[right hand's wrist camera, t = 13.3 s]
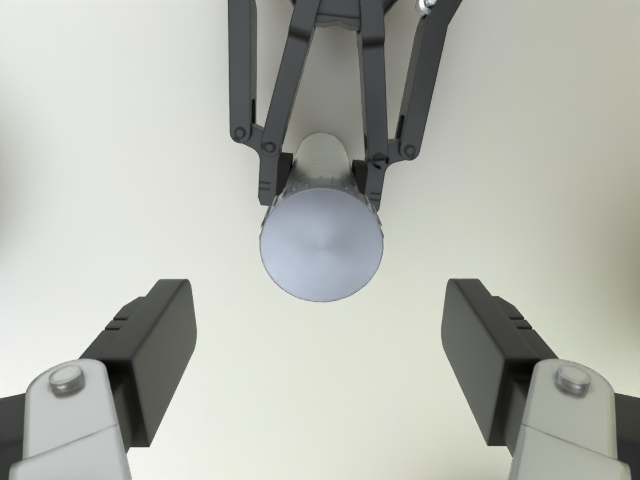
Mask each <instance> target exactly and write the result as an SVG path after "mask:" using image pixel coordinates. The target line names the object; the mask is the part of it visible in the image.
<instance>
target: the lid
mask: <svg viewBox="0 0 640 480" xmlns="http://www.w3.org/2000/svg"><path fill="white" fill-rule="evenodd" d="M380 226H382V224H381V222H380V219H379V217H378V215H377V213H376V210H375V208H374V205H373V204H370V203H369V200H368V198H367V196H366V194H365V195H363V194H362V193H360V192H359V190H358V187H356V186H355V188H354V187H352V186H351V185H349V184H347V181H345V180H344V182H342V181H339V180H335V177H332V179H330V178H322V176H319V178H313V179H309V177H307V178H306V180H304V181H301V182H297V181H296V182H294V185H292V186H291V187H289V188H288V189H287V188H286V187H285V188H284V190H283V193H281V194H280V195H279V196H276V197H275V199H274V201H273V204H272V206H270V205H269V207H268V210H267V212H266V215H265V217H264V220H263V222H262V225H261V228H262V231H261V234H260V236H259V240H260V254H261V258H262V262H263V265H264V267H265V269H266V271H267V273H268V274H269V276H270V277H271V278H272V280H273V281H274V282H275V283H276V284H277V285H278V286H279V287H280V288H282V289H283V290H284V291H286V292H287V293H289V294H291V295H293V296H295V297H297V298H300V299H303V300H307V301H313V302H330V301H336V300H340V299H343V298H346V297H348V296H350V295H352V294H354V293H356V292H357V291H359V290H360V289H361V288H363V287H364V286H365V285H366V284H367V283H368V282H369V281H370V280H371V278H372V277H373V276H374V274H375V272H376V271H377V269H378V267H379V264H380V262H381V258H382V254H383V238H384V235H383V233H382V230H381V228H380Z"/></svg>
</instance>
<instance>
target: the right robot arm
mask: <svg viewBox="0 0 640 480" xmlns="http://www.w3.org/2000/svg"><path fill="white" fill-rule="evenodd" d="M196 338H197V328H196V319H195V312H194V304H193V296H192V289H191V284H190V282H189V280H188V279H160V280H158V281H157V283H156V284H155V285H154V287H153V288H152V289H151V290H150V292H149V293H148V294H147V295H146V297H138V298H136V299H135V300H133V301H132V302H130V303H128V304H127V305H125V306H123V307H122V309H121V310H120V311H119V312H118V313H117V314H116V316H115V317H114V318H113V321H110V323H109V324H108V325H107V326H106V327H105V330H103V331H102V332H101V333H100V334H99V335H98V337H97V338H96V339H95V340H94V341H93V342H92V344H91V345H90V346H89V347H88V348H87V349H86V351H85V352H84V353H83V354H82V355H81V356H80V358H79V359H77V360H72V361H68V362H64V363H61V364H59V365H56V366H54V367H52V368H50V369H48V370H46V371H45V372H43V373H42V374H40V375H39V376H38V377H36V378H35V379H34V380H33V381H32V382H31V384H30V385H29V386H28V388H27V390H26V393H23V394H19V395H15V396H10V397H5V398H0V480H132V477H131V473H130V468H129V464H128V460H127V455H126V454H127V452H128V450H129V448H130V447H150V445H151V443H152V440H153V438H154V436H155V434H156V432H157V430H158V427H159V425H160V423H161V421H162V419H163V416H164V414H165V412H166V410H167V408H168V406H169V403H170V401H171V399H172V397H173V395H174V393H175V390H176V388H177V386H178V384H179V382H180V380H181V377H182V375H183V373H184V371H185V369H186V367H187V364H188V362H189V360H190V358H191V356H192V354H193V351H194V349H195V345H196ZM441 338H442V345H443V348H444V351H445V353H446V355H447V358H448V360H449V362H450V364H451V366H452V369H453V371H454V373H455V375H456V377H457V380H458V382H459V384H460V386H461V388H462V391H463V393H464V395H465V397H466V399H467V402H468V404H469V406H470V408H471V410H472V413H473V415H474V417H475V419H476V421H477V424H478V426H479V428H480V430H481V432H482V435H483V437H484V439H485V441H486V443H487V446H507V447H508V449H509V451H510V453H511V455H512V457H513V460H512V464H511V468H510V473H509V477H508V480H640V398H637V397H632V396H627V395H623V394H618V393H614V390H613V388H612V386H611V385H610V384H609V382H608V381H607V380H606V379H605V378H604V377H602V376H601V375H600V374H598V373H597V372H595V371H594V370H592V369H590V368H588V367H586V366H584V365H581V364H579V363H576V362H572V361H568V360H563V359H559V358H558V357H557V356H556V355H555V354H554V352H553V351H552V350H551V349H550V348H549V346H548V345H547V344H546V343H545V342H544V341H543V339H542V338H541V337H540V336H539V335H538V333H537V332H536V331H535V330H532V326H531V325H530V324H529V323H528V322H527V320H524V317H523V316H522V315H521V313H520V312H519V311H518V310H517V309H516V307H515V306H513V305H512V304H510V303H509V302H507V301H505V300H504V299H502V298H500V297H499V296H492V295H491V294H490V293H489V292H488V290H487V289H486V288H485V287H484V285H483V284H482V283H481V281H480V280H479V279H449V281H448V283H447V287H446V294H445V302H444V310H443V318H442V326H441Z"/></svg>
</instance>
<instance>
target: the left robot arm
mask: <svg viewBox="0 0 640 480" xmlns="http://www.w3.org/2000/svg"><path fill="white" fill-rule="evenodd" d="M397 1H398V0H290V2H291V3H292V5H293V7H294V11H293V14H292V18H291V22H290V26H289V32H288V38H287V41H286V45H285V49H284V53H283V57H282V61H281V65H280V69H279V73H278V76H277V80H276V84H275V88H274V92H273V96H272V100H271V104H270V107H269V111H268V115H267V119H266V123H265V127H264V128H263V127H261V126H259V125H257V124H256V88H257V8H256V1H255V0H228V36H229V108H230V136H231V138H232V139H233V140H234V141H235V142H237V143H243V144H245V145H247V146H249V147H251V148H253V149H254V150H256V151H257V153H258V154H259V157H260V171H259V191H258V198H259V201H260V204H261V205H266V206H269V205H270V206H272V204H273V201H274V199H275V197H276V196H279V195H280V194H281V193H283V190H284V188H285V186H286V183H287V180H288V177H289V174H290V171H291V168H292V163H293V153H283V152H282V145H283V142H284V138H285V135H286V131H287V128H288V124H289V120H290V117H291V113H292V110H293V106H294V102H295V99H296V95H297V92H298V88H299V84H300V81H301V77H302V74H303V70H304V66H305V63H306V59H307V56H308V52H309V48H310V45H311V42H312V39H313V35H314V32H315V28H316V27H327V26H333V25H339V26H341V27H343V28H346V29H348V30H352V31H356V32H357V45H358V52H359V68H360V83H361V99H362V115H363V130H364V146H365V161H362V160H353V162H352V172H353V175H354V178H355V181H356V184H357V187H358V190H359V192H360V193H362V194H363V195H365V194H366V196H367V198H368V200H369V203H370V204H373V205H374V208H375V210H376V213H377V212H378V210H379V207H380V200H381V193H382V188H383V181H384V175H385V171H386V169H387V167H388V166H389V165H391V164H392V163H395V162H399V161H403V160H413V159H415V158H416V157H417V156H418V155H419V152H420V148H421V144H422V139H423V135H424V130H425V126H426V121H427V117H428V112H429V108H430V103H431V99H432V94H433V90H434V85H435V81H436V77H437V72H438V68H439V63H440V59H441V54H442V50H443V45H444V41H445V36H446V32H447V27H448V24H449V23H450V21H451V19H452V17H453V16H454V14H455V12H456V10H457V9H458V7H459V5H460V3H461V2H462V0H416V3H415V8H416V11H417V12H418V13H419V14H420V15H421V18H420V21H419V24H418V26H417V30H416V34H415V38H414V43H413V48H412V53H411V58H410V63H409V68H408V73H407V78H406V83H405V88H404V93H403V98H402V103H401V108H400V113H399V118H398V123H397V128H396V133H395V138H394V139H390V140H388V130H387V107H386V84H385V61H384V41H385V29H384V16H385V15H386V14H387V13H388V11H389V10H390V9H391V8H392V7H393V5H394V4H395V3H396V2H397Z"/></svg>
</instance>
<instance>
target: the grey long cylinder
mask: <svg viewBox="0 0 640 480" xmlns="http://www.w3.org/2000/svg"><path fill="white" fill-rule="evenodd" d="M319 176H322V178H330V179H332V177H335V180H339V181H342V182H344V180H345V181H347V184H349V185H351V186H352V187H354V188H355V186H356V187H357V184H356V181H355V178H354V175H353V172H352V168H351V165H350V162H349V159H348V156H347V153H346V150H345V148H344V146H343V144H342V142H341V141H340V140H339V139H338V138H337V137H335V136H333V135H331V134H329V133H323V132H320V133H314V134H311V135H310V136H308V137H306V138H305V139H304V140H303V141H302V142H301V144H300V145H299V147H298V150H297V153H296V156H295V159H294V162H293V165H292V168H291V171H290V174H289V177H288V180H287V183H286V186H285V187H286V188H287V189H288V188H289V187H291V186H292V185H294V182H296V181H297V182H301V181H304V180H306V178H307V177H309V179H313V178H319Z"/></svg>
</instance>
